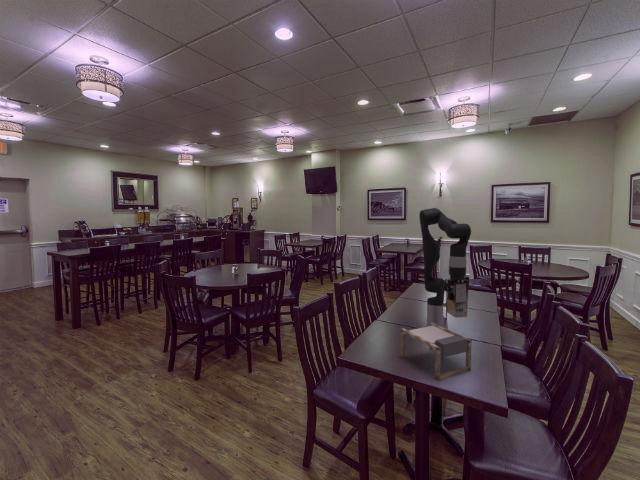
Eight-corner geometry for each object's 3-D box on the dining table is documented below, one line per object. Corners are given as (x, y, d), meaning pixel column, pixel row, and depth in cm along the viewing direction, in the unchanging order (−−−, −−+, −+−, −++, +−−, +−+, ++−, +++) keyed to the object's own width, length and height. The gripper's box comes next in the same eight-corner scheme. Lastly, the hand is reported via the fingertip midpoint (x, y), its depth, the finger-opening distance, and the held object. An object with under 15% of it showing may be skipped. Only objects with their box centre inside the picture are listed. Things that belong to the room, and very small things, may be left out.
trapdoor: (468, 351, 138) (469, 338, 137) (441, 358, 131) (442, 344, 131) (432, 333, 158) (432, 322, 157) (408, 339, 151) (408, 327, 151)
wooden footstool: (470, 370, 140) (471, 340, 138) (437, 380, 132) (438, 348, 130) (431, 348, 162) (432, 322, 161) (400, 356, 154) (401, 328, 153)
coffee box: (468, 317, 143) (469, 283, 141) (455, 317, 142) (456, 284, 141) (457, 310, 152) (458, 279, 150) (444, 311, 151) (445, 279, 150)
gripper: (461, 263, 151) (460, 295, 153) (440, 265, 145) (439, 299, 147) (474, 265, 145) (473, 299, 146) (453, 268, 138) (452, 303, 140)
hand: (456, 298), depth 146 cm, fingers closed on coffee box, 7 cm apart
